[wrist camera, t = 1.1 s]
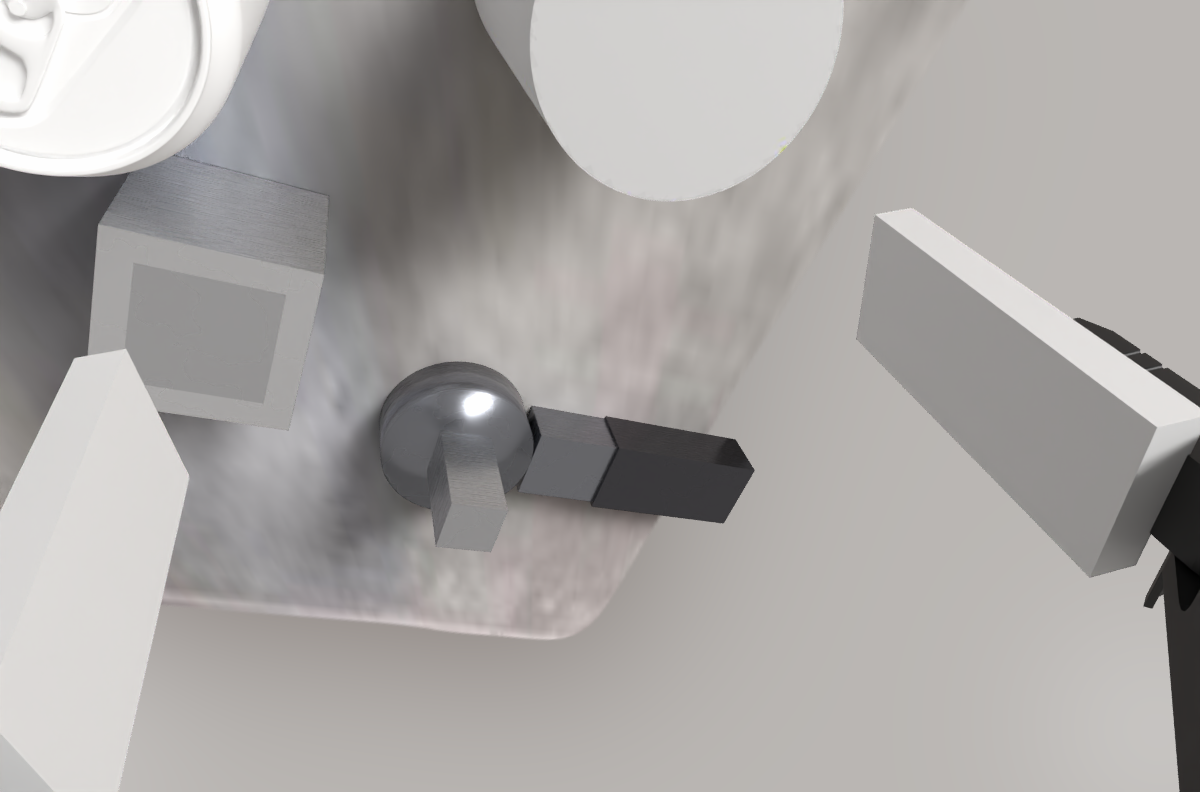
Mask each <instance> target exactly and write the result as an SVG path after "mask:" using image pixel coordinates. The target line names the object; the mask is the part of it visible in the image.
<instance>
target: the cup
mask: <svg viewBox="0 0 1200 792" xmlns="http://www.w3.org/2000/svg"><path fill="white" fill-rule="evenodd" d="M475 4H476V7H477V10H478V13H479V16H480V18H481V21H482V23H483V25H484V27H485V29H486V31H487V33H488V34H489V36H490V38H491V39H492V41H493V42H494V44H495V45H496V47H497V48H498V50H499V52H500V53H501V55H502V56H503V58H504V59H505V61H506V62H507V64H508V65H509V67H510V68H511V70H512V72H513V73H514V75H515V76H516V78H517V79H518V81H519V82H520V84H521V85H522V87H523V88H524V90H525V92H526V93H527V95H528V96H529V98H530V99H531V101H532V102H533V104H534V105H535V107H536V108H537V110H538V112H539V113H540V115H541V116H542V118H543V119H544V121H545V122H546V124H547V125H548V127H549V128H550V130H551V132H552V133H553V135H554V136H555V138H556V139H557V141H558V142H559V143H560V145H561V146H562V148H563V149H564V150H565V152H566V153H567V154H568V155H569V156H570V158H571V159H572V160H573V161H574V162H575V163H576V164H577V165H578V166H579V167H581V168H582V169H583V170H584V171H585V172H586V173H588V174H589V175H590V176H592V177H593V178H594V179H596V180H597V181H599V182H601V183H602V184H604V185H606V186H608V187H610V188H612V189H614V190H616V191H618V192H621V193H624V194H626V195H630V196H633V197H636V198H641V199H646V200H654V201H684V200H692V199H697V198H702V197H705V196H709V195H712V194H715V193H718V192H721V191H724V190H726V189H728V188H730V187H733V186H735V185H737V184H738V183H740V182H742V181H744V180H746V179H747V178H749V177H751V176H752V175H754V174H755V173H757V172H758V171H760V170H761V169H762V168H764V167H765V166H766V165H767V164H769V163H770V162H771V161H772V160H773V159H775V158H776V157H777V156H778V155H779V154H780V153H781V152H782V151H783V150H784V149H785V148H786V147H787V146H788V145H789V144H790V143H791V141H792V140H793V139H794V138H795V137H796V135H797V134H798V133H799V132H800V130H801V129H802V128H803V126H804V125H805V124H806V122H807V121H808V119H809V117H810V116H811V114H812V113H813V111H814V109H815V108H816V106H817V104H818V102H819V101H820V98H821V96H822V94H823V92H824V90H825V88H826V86H827V83H828V81H829V78H830V76H831V73H832V70H833V67H834V64H835V60H836V57H837V53H838V49H839V44H840V39H841V32H842V25H843V12H844V0H475Z"/></svg>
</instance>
